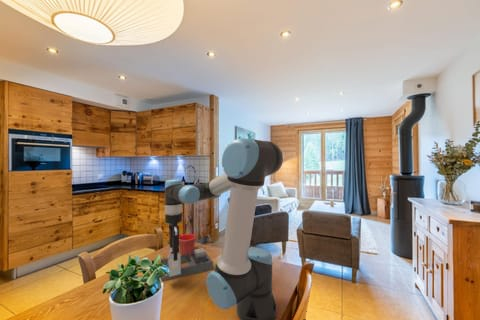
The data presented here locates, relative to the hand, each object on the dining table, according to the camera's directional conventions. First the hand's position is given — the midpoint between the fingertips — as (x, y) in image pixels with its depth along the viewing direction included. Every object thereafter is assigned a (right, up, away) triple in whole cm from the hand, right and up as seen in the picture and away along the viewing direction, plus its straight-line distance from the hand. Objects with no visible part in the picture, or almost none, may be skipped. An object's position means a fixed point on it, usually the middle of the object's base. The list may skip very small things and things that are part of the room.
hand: (174, 264), depth 96 cm
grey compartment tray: (0, -10, +15) cm, 18 cm away
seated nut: (+8, -10, +19) cm, 23 cm away
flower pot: (-3, -10, +35) cm, 36 cm away
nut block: (0, -4, 0) cm, 4 cm away
